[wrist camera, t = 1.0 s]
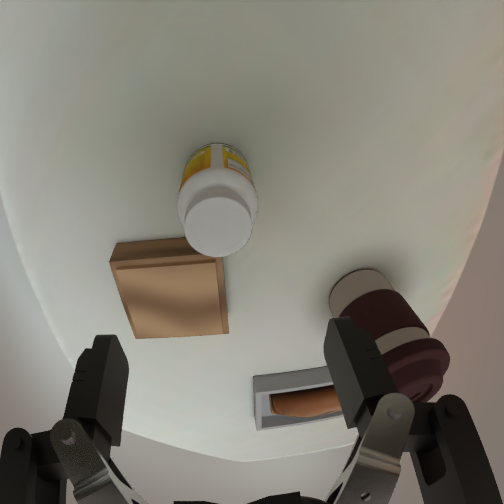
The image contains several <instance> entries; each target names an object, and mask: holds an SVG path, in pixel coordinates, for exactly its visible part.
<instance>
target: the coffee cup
mask: <svg viewBox="0 0 504 504" xmlns="http://www.w3.org/2000/svg"><path fill="white" fill-rule="evenodd" d="M329 304H330V309H331V312H332V315H333V318H338V317H345V316H350V317H351V318H352V320H353V323H354V325H355V327H356V329H358V328H364V329H365V330H367V331H368V332H369V333H370V334H371V335H372V336H373V338H374V340H375V342H376V344H377V346H378V350H380V352H381V355H382V358H383V359H384V361H385V363H386V365H387V367H388V370H389V372H390V374H391V376H392V378H393V381H394V383H395V385H396V387H397V389H398V391H399V392H400V394H403V395H405V396H406V397H408V398H409V399H410V400H411V401H413V402H427V401H428V400H430V399H431V398H432V397H433V396H434V395H435V394H436V393H437V392H438V391H439V389H440V388H441V386H442V383H443V375H444V374H445V372H446V371H447V369H448V366H449V363H450V356H449V353H448V352H447V350H446V348H445V347H444V345H443V344H442V343H441V342H440V341H438V340H437V339H433V338H430V335H429V332H428V330H427V328H426V327H425V325H424V324H423V323H422V321H421V320H420V319H419V317H418V316H417V315H416V314H415V312H414V311H413V310H412V308H411V307H410V306H409V304H408V303H407V302H406V301H405V299H404V298H403V297H402V296H401V295H400V294H399V293H398V292H396V291H395V290H394V289H393V287H392V286H391V285H390V283H389V282H388V281H387V280H386V278H385V277H384V276H383V275H382V274H380V273H379V272H377V271H374V270H360V271H356V272H353V273H351V274H349V275H347V276H346V277H344V278H343V279H342V280H340V281H339V282H338V283H337V285H336V286H335V287H334V289H333V290H332V293H331V295H330V299H329Z"/></svg>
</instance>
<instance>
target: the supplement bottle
mask: <svg viewBox="0 0 504 504" xmlns="http://www.w3.org/2000/svg"><path fill="white" fill-rule="evenodd" d="M177 213H178V217H179V219H180V222H181V224H182V225H183V227H184V233H185V237H186V239H187V241H188V242H189V244H190V245H191V246H192V247H193V248H194V249H195V250H196V251H198V252H199V253H201V254H204V255H206V256H211V257H225V256H229V255H232V254H234V253H236V252H237V251H239V250H240V249H242V248H243V247H244V246H245V245H246V243H247V242H248V240H249V238H250V236H251V233H252V225H253V223H254V221H255V219H256V216H257V213H258V197H257V193H256V190H255V186H254V183H253V180H252V177H251V173H250V170H249V167H248V164H247V162H246V160H245V158H244V156H243V155H242V154H241V153H240V152H239V151H238V150H236V149H235V148H233V147H231V146H229V145H225V144H210V145H206V146H204V147H202V148H200V149H199V150H197V151H196V152H195V153H194V154H193V155H192V156H191V157H190V158H189V160H188V162H187V164H186V167H185V170H184V174H183V179H182V183H181V187H180V191H179V195H178V200H177Z"/></svg>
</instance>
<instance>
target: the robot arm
mask: <svg viewBox="0 0 504 504" xmlns="http://www.w3.org/2000/svg"><path fill="white" fill-rule="evenodd" d="M324 356H325V360H326V363H327V366H328V369H329V372H330V375H331V378H332V381H333V384H334V387H335V390H336V393H337V396H338V400H339V403H340V406H341V409H342V412H343V415H344V418H345V421H346V425H347V428H348V429H350V428H354V427H357V429H358V432H359V435H358V437H357V439H356V441H355V444H354V446H353V448H352V450H351V452H350V455H349V457H348V459H347V461H346V463H345V465H344V467H343V470H342V471H341V473H340V475H339V477H338V479H337V480H336V482H335V484H334V485H333V487H332V489H331V490H330V492H329V494H328V496H327V498H326V500H325V501H322V500H319V499H315V498H311V497H304V496H300V492H293V493H287V494H281V495H274V496H268V497H265V498H262V499H259V500H257V501H254V502H251V503H248V504H388V503H389V500H390V498H391V496H392V493H393V491H394V488H395V486H396V483H397V481H398V478H399V475H400V472H401V466H400V465H399V462H400V459H401V456H402V453H403V452H410V455H411V458H412V462H413V465H414V468H415V472H416V476H417V479H418V483H419V486H420V490H421V493H422V497H423V501H424V504H503V503H502V500H501V496H500V493H499V490H498V487H497V484H496V481H495V478H494V475H493V472H492V469H491V466H490V463H489V461H488V458H487V456H486V453H485V450H484V447H483V445H482V442H481V440H480V437H479V435H478V432H477V430H476V427H475V425H474V423H473V420H472V418H471V416H470V413H469V411H468V409H467V406H466V404H465V403H464V401H463V400H462V399H461V398H459V397H458V396H455V395H451V394H450V395H444V396H442V397H441V398H440V399H439V400H438V401H437V402H436V403H431V402H428V403H427V402H413V401H411V400H410V399H409V398H408V397H406V396H405V395H403V394H400V392H399V391H398V389H397V387H396V385H395V383H394V381H393V378H392V376H391V374H390V372H389V370H388V367H387V365H386V363H385V361H384V359H383V358H382V355H381V352H380V350H378V346H377V344H376V342H375V340H374V338H373V336H372V335H371V334H370V333H369V332H368V331H367V330H365V329H364V328H358V329H356V327H355V325H354V323H353V320H352V318H351V317H350V316H345V317H338V318H331V319H330V320H329V323H328V328H327V332H326V337H325V341H324ZM128 375H129V366H128V361H127V358H126V356H125V353H124V351H123V349H122V347H121V344H120V342H119V340H118V338H117V336H116V335H96V336H95V339H94V342H93V346H92V349H87V348H86V349H85V350H84V351H83V353H82V354H81V355H80V357H79V358H78V361H77V364H76V368H75V373H74V376H73V382H72V384H71V388H70V392H69V396H68V400H67V404H66V409H65V413H64V417H63V419H62V420H60V421H58V422H57V423H56V424H55V425H54V426H53V427H52V429H51V430H49V431H44V432H39V433H34V434H29V433H28V432H27V431H26V430H25V429H23V428H14V429H11V430H10V431H9V432H8V433H7V434H6V435H5V437H4V441H3V445H2V451H1V457H0V504H66V483H67V479H70V481H71V483H72V484H73V486H74V489H75V490H74V491H73V494H74V497H75V499H76V501H77V503H78V504H148V503H147V502H146V501H145V500H144V499H143V498H142V497H141V496H140V495H139V494H138V493H137V491H136V490H135V489H134V488H133V487H132V485H131V484H130V482H129V481H128V480H127V478H126V477H125V476H124V474H123V473H122V471H121V470H120V468H119V467H118V466H117V464H116V463H115V461H114V460H113V458H112V457H111V455H110V449H111V446H120V442H121V431H122V422H123V413H124V405H125V397H126V389H127V382H128ZM174 504H217V503H211V502H206V501H174Z"/></svg>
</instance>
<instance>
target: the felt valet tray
mask: <svg viewBox="0 0 504 504" xmlns="http://www.w3.org/2000/svg"><path fill="white" fill-rule="evenodd" d="M253 378H254V416H255V423H256V430H266V429H274V428H281V427H288V426H295V425H301V424H307V423H313V422H318V421H323V420H329V419H334V418H338V417H343V416H344V415H343V412H342V410H341V411H337V412H333V413H331V414H323V415H318V416H313V417H293V416H283V415H277V414H272V413H271V410H270V401H269V394H275V393H283V392H290V391H297V390H303V389H310V388H316V387H322V386H327V385H333V381H332V378H331V375H330V372H329V369H328V366H325V367H319V368H313V369H306V370H300V371H292V372H285V373H277V374H269V375H260V376H253Z"/></svg>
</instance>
